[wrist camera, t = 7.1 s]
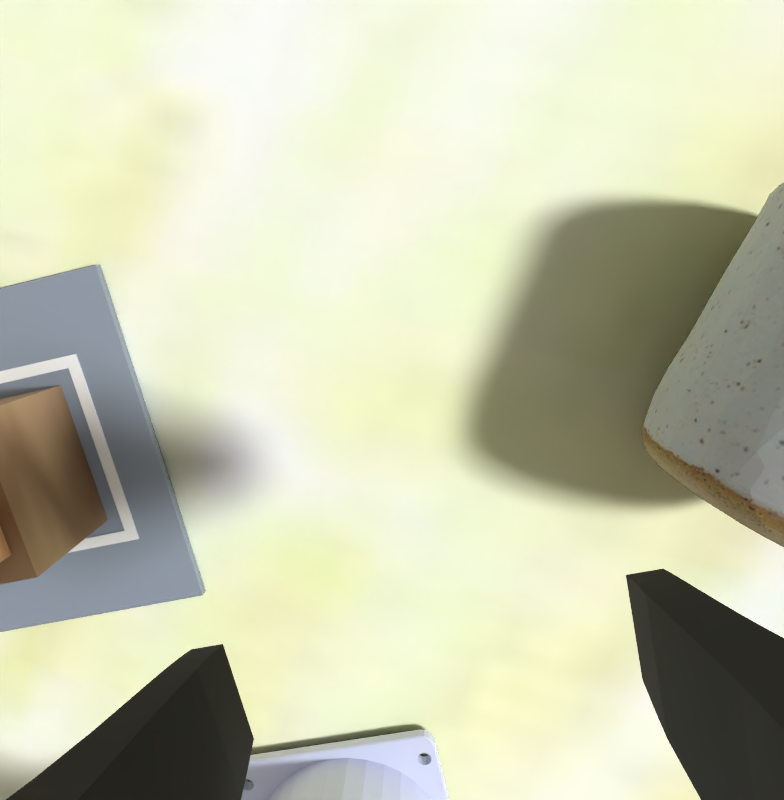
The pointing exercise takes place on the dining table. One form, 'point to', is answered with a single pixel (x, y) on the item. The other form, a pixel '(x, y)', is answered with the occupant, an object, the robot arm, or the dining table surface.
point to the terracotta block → (3, 547)
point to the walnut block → (43, 484)
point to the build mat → (95, 455)
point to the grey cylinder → (732, 388)
